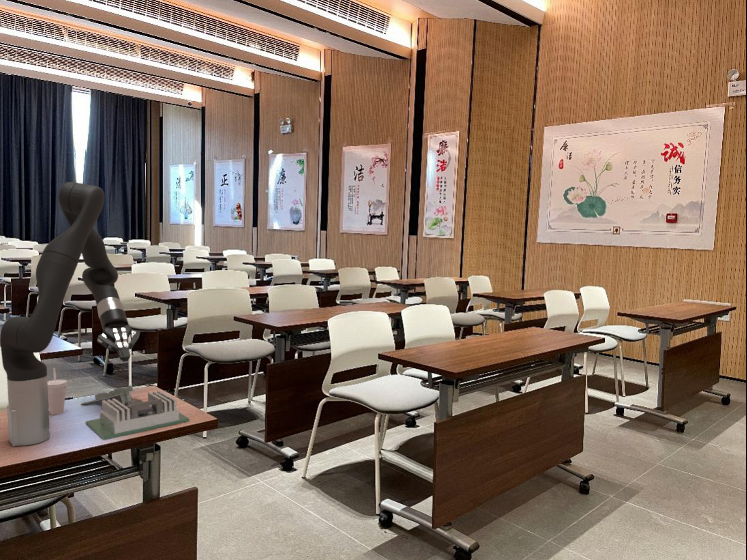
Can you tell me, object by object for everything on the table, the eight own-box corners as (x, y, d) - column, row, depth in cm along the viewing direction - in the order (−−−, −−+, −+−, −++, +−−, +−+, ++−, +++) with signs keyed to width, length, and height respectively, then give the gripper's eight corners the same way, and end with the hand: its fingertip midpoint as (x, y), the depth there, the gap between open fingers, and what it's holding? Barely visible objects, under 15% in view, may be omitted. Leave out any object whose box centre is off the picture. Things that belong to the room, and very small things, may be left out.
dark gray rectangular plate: (124, 405, 174) (138, 414, 166) (124, 401, 174) (138, 410, 166) (139, 402, 177) (153, 411, 168) (139, 399, 177) (153, 407, 168)
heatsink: (103, 439, 159) (102, 410, 158) (85, 423, 171) (84, 396, 171) (189, 421, 174) (188, 394, 173) (167, 407, 187) (166, 383, 186)
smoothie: (64, 408, 186) (62, 364, 185) (71, 413, 181) (69, 368, 180) (42, 413, 181) (40, 368, 180) (49, 417, 177) (46, 371, 176)
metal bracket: (143, 381, 198) (106, 392, 184) (148, 398, 197) (110, 410, 184) (115, 388, 204) (76, 399, 191) (119, 404, 204) (80, 417, 190)
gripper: (91, 309, 180) (105, 355, 172) (136, 306, 188) (151, 349, 180) (87, 324, 184) (100, 370, 176) (131, 320, 193) (145, 363, 185)
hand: (126, 359), depth 178 cm, fingers closed
